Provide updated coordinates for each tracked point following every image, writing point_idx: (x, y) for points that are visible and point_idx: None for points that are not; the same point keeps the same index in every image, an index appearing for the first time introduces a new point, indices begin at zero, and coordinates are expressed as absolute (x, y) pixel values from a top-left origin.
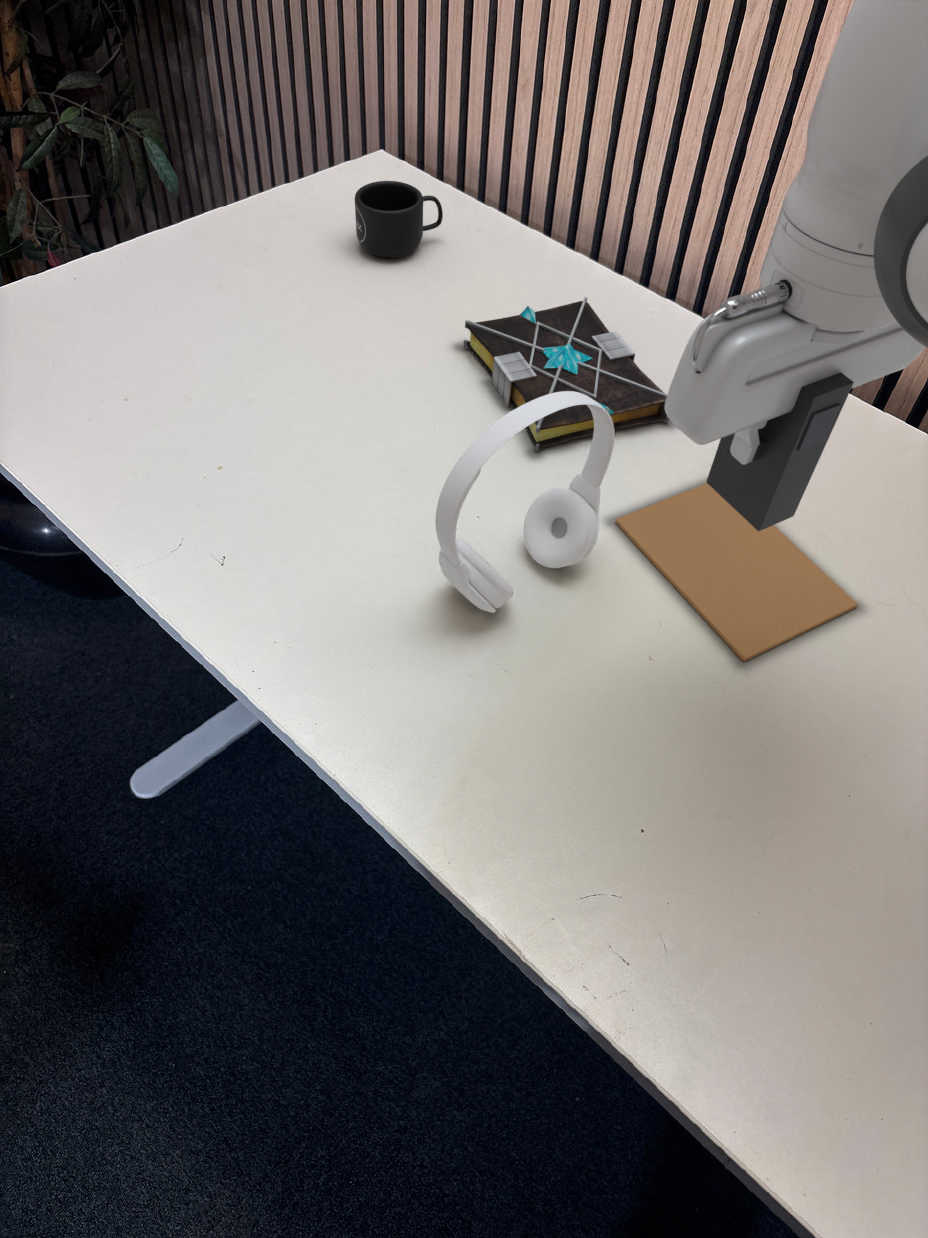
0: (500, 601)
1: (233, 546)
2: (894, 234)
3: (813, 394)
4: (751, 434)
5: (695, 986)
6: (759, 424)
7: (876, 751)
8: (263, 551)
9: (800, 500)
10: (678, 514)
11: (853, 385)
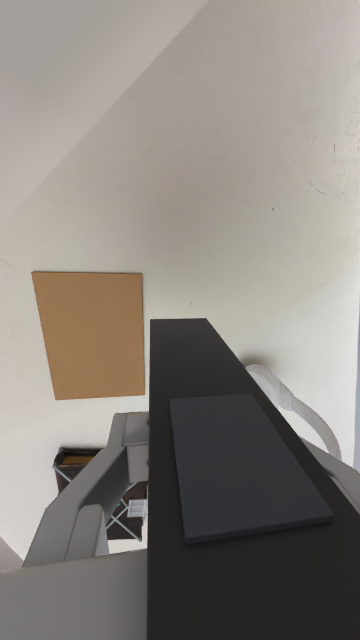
0: (257, 368)
1: (313, 439)
2: None
3: None
4: (341, 464)
5: (318, 107)
6: (349, 491)
7: (105, 165)
8: (305, 433)
9: (151, 328)
10: (105, 384)
11: (20, 597)
